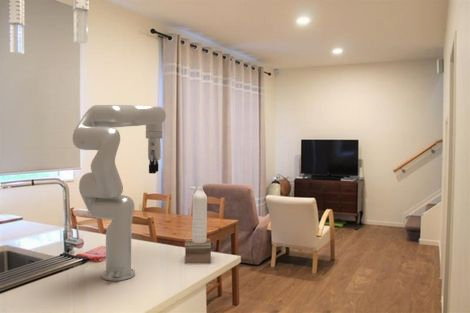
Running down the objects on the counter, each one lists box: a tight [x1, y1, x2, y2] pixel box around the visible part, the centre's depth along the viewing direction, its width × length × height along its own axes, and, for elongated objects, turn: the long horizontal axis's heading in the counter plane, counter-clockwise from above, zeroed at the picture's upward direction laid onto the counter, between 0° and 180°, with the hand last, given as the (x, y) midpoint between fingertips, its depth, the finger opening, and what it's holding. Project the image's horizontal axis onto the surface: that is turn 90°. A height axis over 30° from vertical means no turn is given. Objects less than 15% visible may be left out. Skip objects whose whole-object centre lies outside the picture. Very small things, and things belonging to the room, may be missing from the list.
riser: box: [184, 238, 212, 264], centre depth 172 cm, size 11×11×8 cm
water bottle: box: [189, 186, 208, 244], centre depth 170 cm, size 9×6×25 cm
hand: (153, 172), depth 177 cm, fingers open, 9 cm apart
